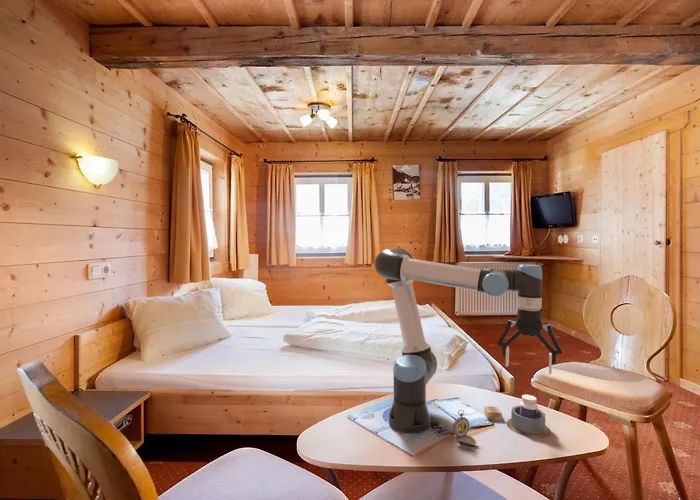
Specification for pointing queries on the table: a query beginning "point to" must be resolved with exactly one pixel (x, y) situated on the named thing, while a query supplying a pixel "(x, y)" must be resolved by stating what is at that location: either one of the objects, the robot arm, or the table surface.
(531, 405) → the pill bottle
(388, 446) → the table surface
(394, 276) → the robot arm
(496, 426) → the table surface
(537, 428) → the grey round bowl
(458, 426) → the pocket watch
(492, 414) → the oak block
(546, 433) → the board
